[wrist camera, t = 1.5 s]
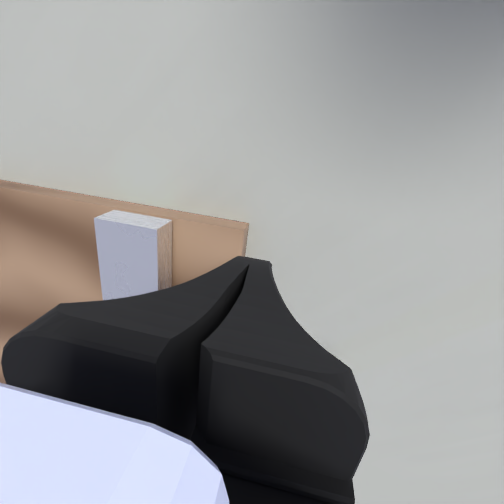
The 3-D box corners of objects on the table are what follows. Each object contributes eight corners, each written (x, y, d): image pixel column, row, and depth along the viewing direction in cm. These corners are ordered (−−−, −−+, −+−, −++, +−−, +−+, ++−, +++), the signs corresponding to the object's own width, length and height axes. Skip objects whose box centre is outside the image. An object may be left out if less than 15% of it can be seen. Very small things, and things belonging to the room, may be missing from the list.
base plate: (219, 460, 23) (200, 531, 19) (1, 399, 25) (-59, 451, 21) (249, 223, 15) (226, 258, 10) (-79, 165, 17) (-203, 176, 13)
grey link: (179, 447, 21) (170, 470, 19) (123, 432, 21) (110, 453, 20) (185, 222, 14) (172, 232, 12) (101, 207, 14) (79, 215, 13)
